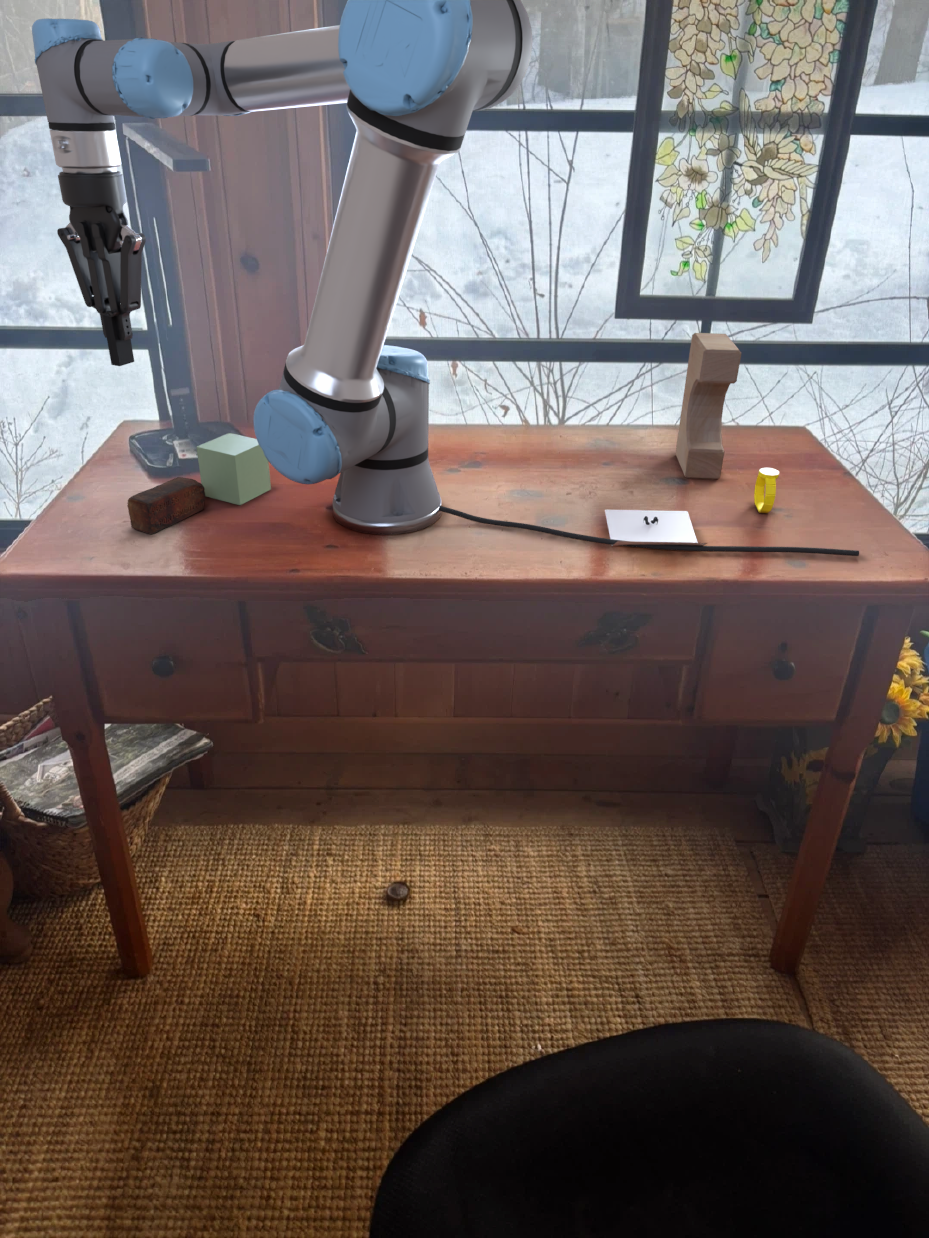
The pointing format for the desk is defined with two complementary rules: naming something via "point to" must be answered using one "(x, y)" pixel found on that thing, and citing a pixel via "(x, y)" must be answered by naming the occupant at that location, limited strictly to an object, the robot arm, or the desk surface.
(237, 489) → the green block
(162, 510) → the brick
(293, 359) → the robot arm
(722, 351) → the decorative block
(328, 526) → the desk surface
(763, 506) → the watch
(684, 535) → the folded paper
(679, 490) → the desk surface
